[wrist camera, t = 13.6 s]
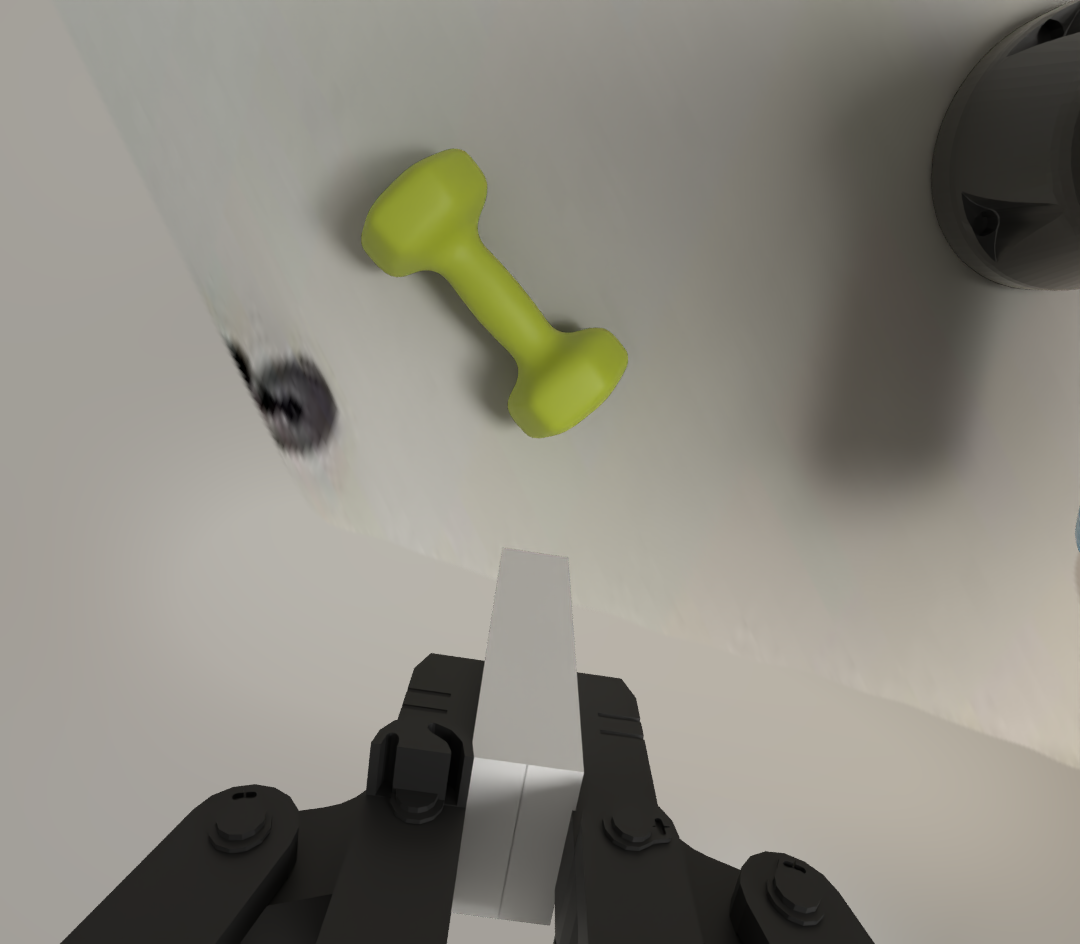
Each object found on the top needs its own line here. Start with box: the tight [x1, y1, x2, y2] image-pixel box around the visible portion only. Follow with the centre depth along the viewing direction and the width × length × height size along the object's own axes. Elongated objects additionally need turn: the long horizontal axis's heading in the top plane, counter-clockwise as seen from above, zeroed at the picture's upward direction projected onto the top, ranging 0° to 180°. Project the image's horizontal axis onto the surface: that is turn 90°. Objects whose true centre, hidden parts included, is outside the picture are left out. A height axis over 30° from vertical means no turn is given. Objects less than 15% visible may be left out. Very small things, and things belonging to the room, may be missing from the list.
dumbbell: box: [361, 149, 628, 438], centre depth 38 cm, size 16×8×7 cm, turn 40°
